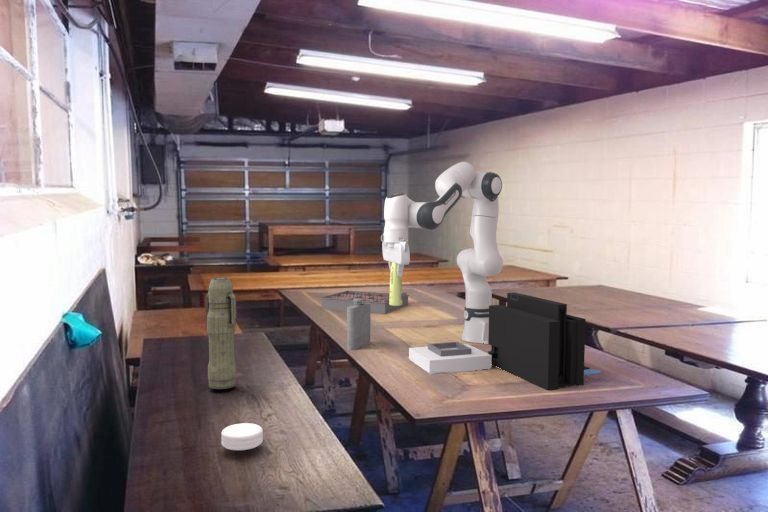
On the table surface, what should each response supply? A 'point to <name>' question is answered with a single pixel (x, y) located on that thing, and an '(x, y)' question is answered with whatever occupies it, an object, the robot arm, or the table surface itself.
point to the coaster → (242, 436)
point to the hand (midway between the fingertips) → (396, 274)
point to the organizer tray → (376, 300)
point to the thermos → (221, 333)
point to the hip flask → (358, 325)
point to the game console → (538, 341)
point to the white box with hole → (450, 358)
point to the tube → (395, 287)
